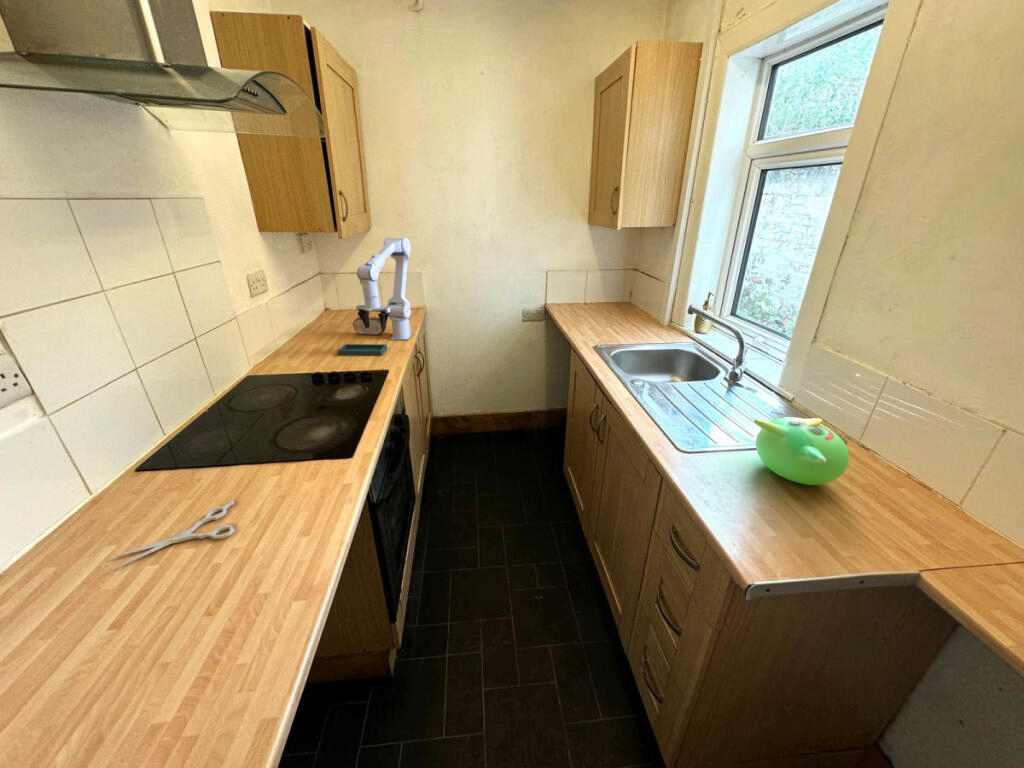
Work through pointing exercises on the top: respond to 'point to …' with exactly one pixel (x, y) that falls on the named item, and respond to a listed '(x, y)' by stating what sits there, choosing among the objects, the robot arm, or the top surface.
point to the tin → (372, 330)
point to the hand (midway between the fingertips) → (375, 328)
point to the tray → (363, 349)
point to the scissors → (190, 533)
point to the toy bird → (802, 450)
